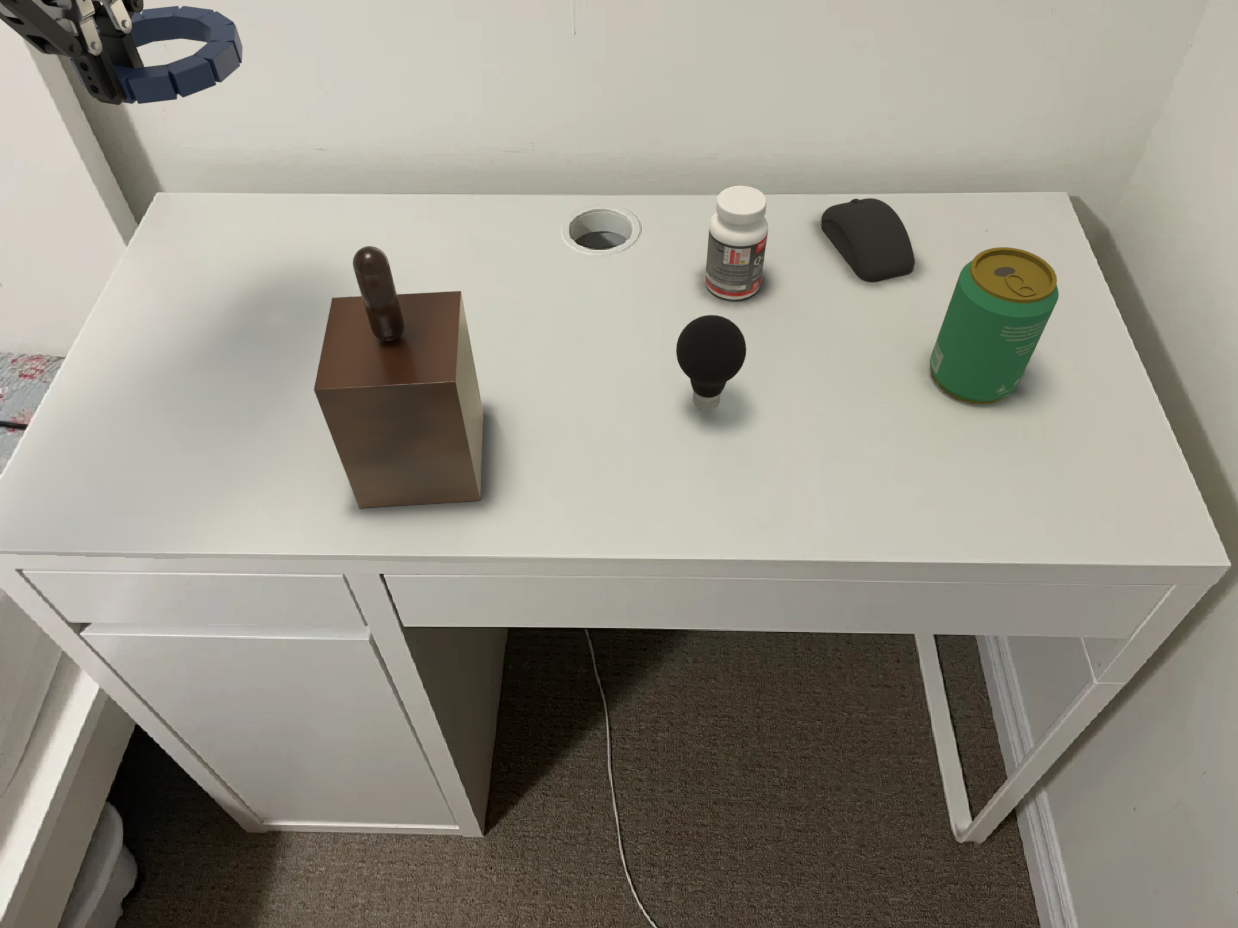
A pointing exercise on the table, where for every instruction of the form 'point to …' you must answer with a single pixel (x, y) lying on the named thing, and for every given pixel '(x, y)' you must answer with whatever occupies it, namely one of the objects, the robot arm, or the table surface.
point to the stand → (401, 392)
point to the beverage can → (993, 324)
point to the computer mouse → (870, 238)
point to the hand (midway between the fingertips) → (122, 92)
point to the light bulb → (710, 357)
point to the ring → (187, 72)
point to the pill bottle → (737, 243)
